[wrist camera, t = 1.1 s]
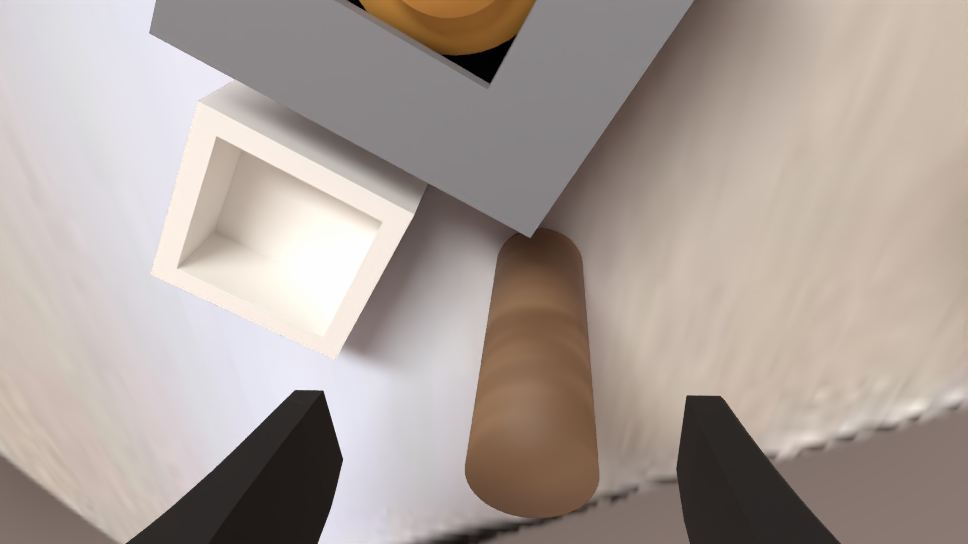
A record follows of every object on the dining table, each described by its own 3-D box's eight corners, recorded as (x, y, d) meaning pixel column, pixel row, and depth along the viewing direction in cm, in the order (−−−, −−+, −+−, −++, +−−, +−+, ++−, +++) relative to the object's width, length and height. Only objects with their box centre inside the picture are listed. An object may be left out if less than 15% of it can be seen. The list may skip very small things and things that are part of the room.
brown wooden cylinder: (599, 254, 21) (627, 464, 13) (552, 314, 22) (552, 533, 14) (524, 213, 20) (506, 407, 12) (481, 277, 21) (442, 485, 14)
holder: (432, 173, 20) (414, 214, 17) (359, 308, 23) (335, 359, 20) (247, 72, 18) (197, 101, 16) (197, 230, 22) (150, 274, 19)
